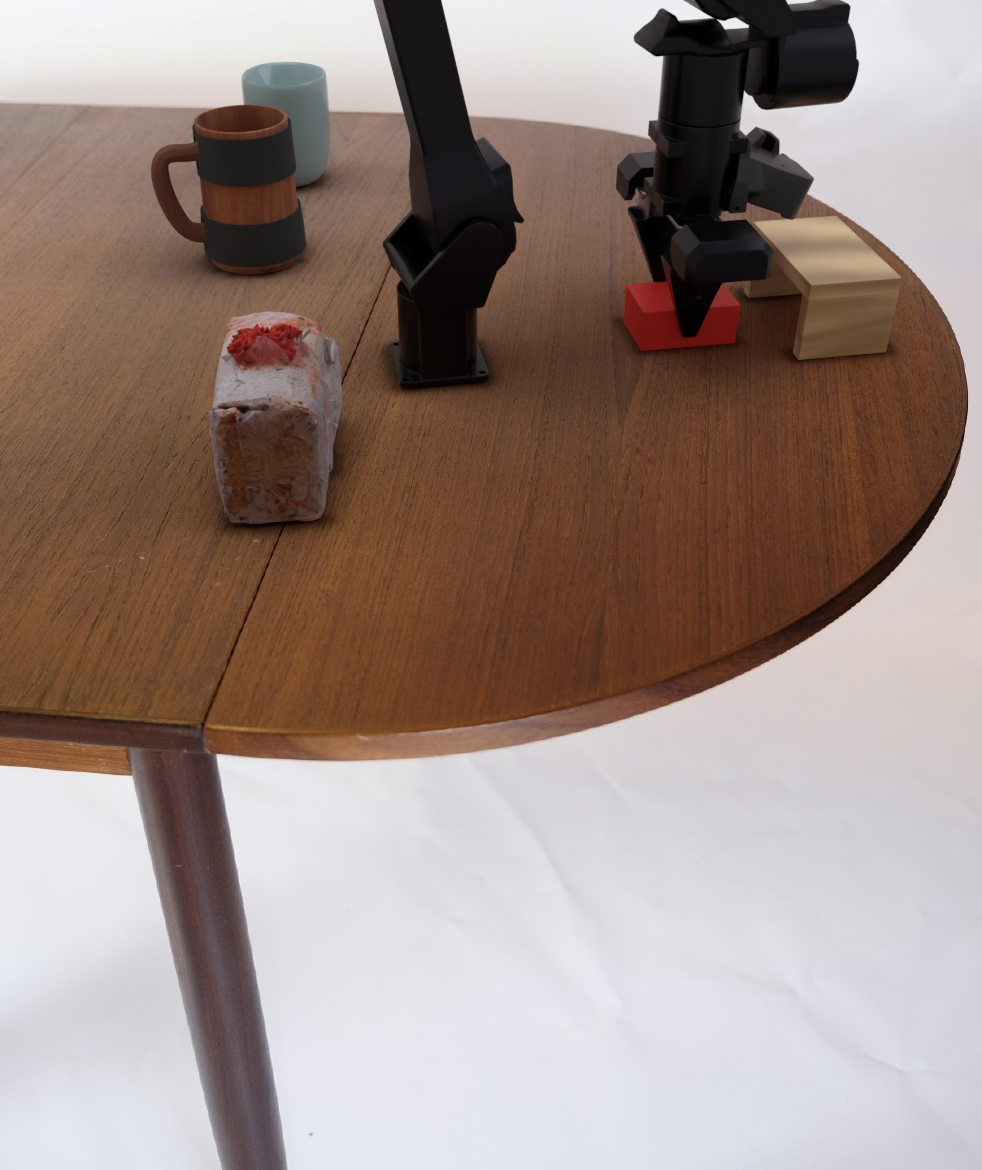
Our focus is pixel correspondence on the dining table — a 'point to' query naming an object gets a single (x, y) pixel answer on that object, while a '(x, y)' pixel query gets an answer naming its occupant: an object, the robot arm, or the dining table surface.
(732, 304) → the block
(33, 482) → the dining table surface
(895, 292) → the stand
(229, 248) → the mug
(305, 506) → the food item
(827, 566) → the dining table surface
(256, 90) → the cup
